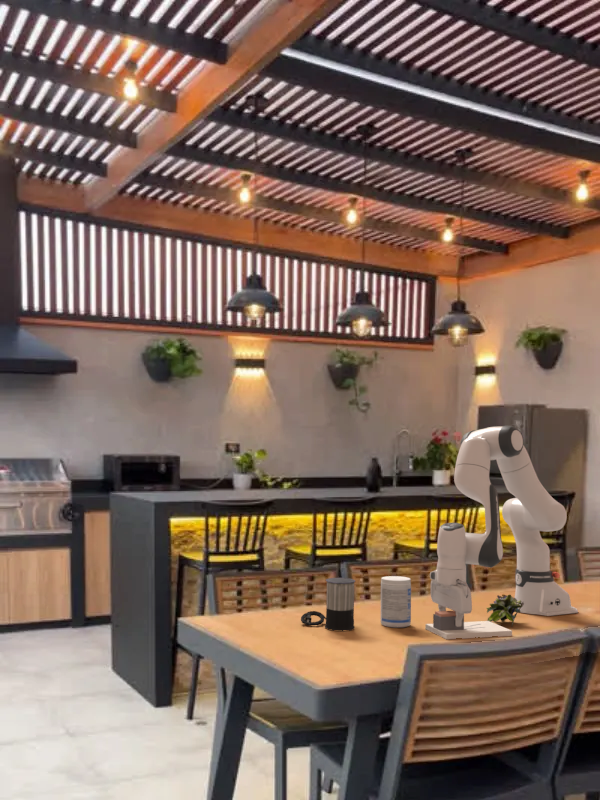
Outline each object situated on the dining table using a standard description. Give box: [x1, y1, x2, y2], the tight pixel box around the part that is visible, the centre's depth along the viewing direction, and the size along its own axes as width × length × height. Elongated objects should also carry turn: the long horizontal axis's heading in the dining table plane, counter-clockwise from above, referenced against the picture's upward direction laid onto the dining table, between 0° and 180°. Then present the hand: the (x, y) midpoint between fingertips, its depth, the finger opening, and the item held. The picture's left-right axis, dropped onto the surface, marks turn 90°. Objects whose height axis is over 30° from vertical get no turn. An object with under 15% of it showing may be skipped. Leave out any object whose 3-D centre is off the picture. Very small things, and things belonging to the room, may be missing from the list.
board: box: [424, 620, 513, 640], centre depth 257 cm, size 22×14×2 cm, turn 107°
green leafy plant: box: [486, 593, 524, 627], centre depth 270 cm, size 11×11×12 cm
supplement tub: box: [380, 575, 412, 629], centre depth 265 cm, size 10×10×15 cm
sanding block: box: [432, 610, 465, 631], centre depth 255 cm, size 8×4×5 cm, turn 107°
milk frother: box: [300, 577, 356, 632], centre depth 261 cm, size 14×16×15 cm
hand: (450, 622), depth 255 cm, fingers open, 8 cm apart
